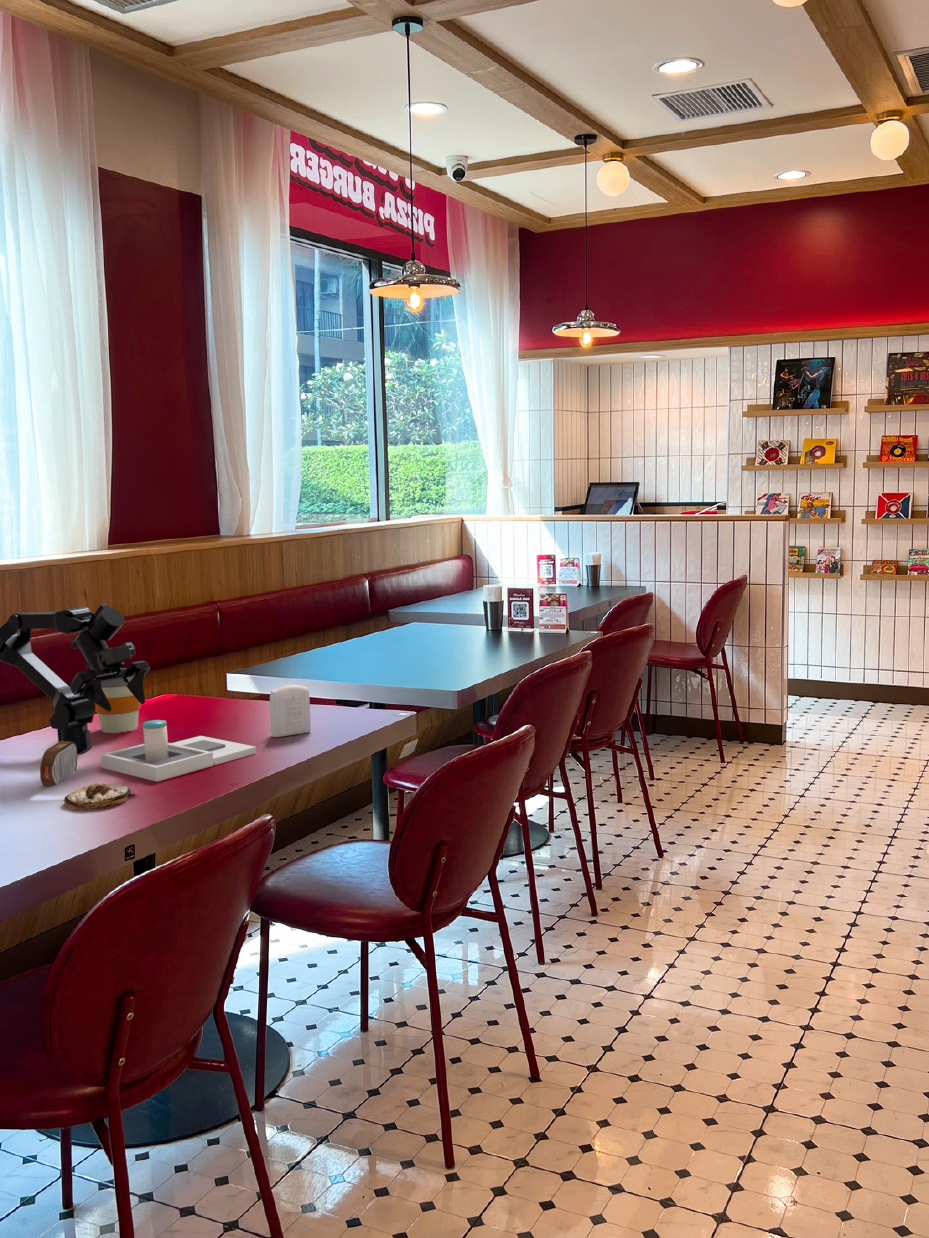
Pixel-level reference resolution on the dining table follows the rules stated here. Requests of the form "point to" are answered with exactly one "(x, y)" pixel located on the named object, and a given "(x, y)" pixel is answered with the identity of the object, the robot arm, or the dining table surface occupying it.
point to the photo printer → (290, 710)
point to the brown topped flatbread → (97, 797)
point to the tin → (58, 762)
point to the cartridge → (155, 740)
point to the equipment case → (176, 758)
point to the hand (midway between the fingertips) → (127, 706)
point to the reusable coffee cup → (118, 708)
